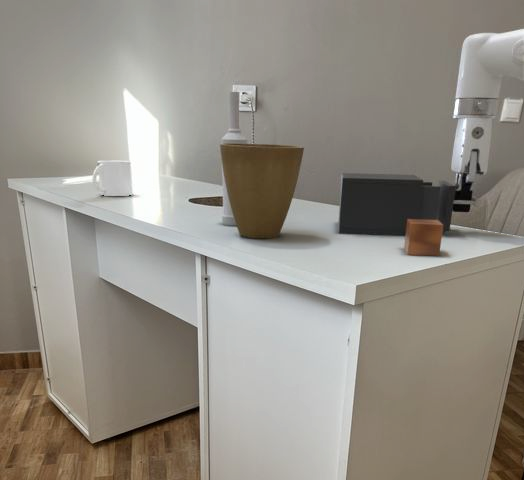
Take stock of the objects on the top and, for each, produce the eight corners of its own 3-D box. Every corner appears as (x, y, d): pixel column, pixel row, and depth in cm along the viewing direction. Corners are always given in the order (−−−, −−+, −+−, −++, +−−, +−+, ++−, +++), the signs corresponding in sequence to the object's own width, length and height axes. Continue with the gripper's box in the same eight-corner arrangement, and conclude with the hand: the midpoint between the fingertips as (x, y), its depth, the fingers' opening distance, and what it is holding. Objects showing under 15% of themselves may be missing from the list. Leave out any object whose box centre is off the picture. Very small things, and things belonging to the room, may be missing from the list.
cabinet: (408, 225, 118) (414, 174, 114) (416, 236, 106) (423, 180, 102) (338, 223, 119) (341, 173, 116) (338, 233, 108) (342, 177, 104)
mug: (123, 192, 167) (121, 160, 163) (138, 195, 160) (136, 161, 157) (85, 195, 159) (82, 161, 156) (99, 198, 153) (96, 162, 150)
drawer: (467, 223, 116) (473, 181, 113) (480, 232, 105) (487, 186, 102) (373, 220, 118) (376, 178, 115) (377, 229, 107) (381, 183, 104)
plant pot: (233, 244, 95) (233, 145, 89) (212, 230, 108) (210, 142, 102) (313, 240, 100) (317, 146, 94) (283, 227, 113) (286, 143, 107)
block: (434, 249, 94) (438, 219, 92) (439, 256, 89) (443, 224, 87) (403, 248, 94) (407, 218, 92) (407, 254, 90) (411, 223, 88)
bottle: (229, 221, 119) (228, 93, 110) (251, 223, 117) (252, 92, 108) (217, 224, 115) (215, 91, 105) (239, 226, 112) (239, 91, 103)
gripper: (507, 109, 95) (489, 217, 102) (485, 112, 109) (471, 207, 116) (462, 108, 96) (447, 216, 103) (446, 111, 110) (434, 206, 117)
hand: (460, 211), depth 109 cm, fingers closed
